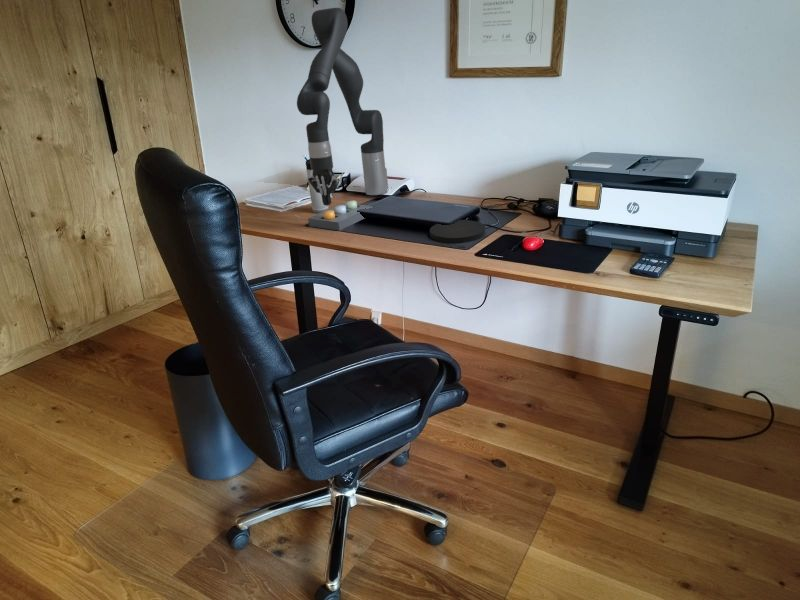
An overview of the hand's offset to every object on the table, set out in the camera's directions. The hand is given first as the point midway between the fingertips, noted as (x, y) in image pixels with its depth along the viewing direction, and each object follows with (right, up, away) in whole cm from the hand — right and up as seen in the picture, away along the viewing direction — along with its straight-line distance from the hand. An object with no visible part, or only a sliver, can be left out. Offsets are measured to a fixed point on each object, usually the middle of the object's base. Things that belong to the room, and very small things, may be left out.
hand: (327, 204), depth 195 cm
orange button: (+1, -5, +3) cm, 6 cm away
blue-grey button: (+4, -3, +7) cm, 9 cm away
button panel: (+4, -4, +8) cm, 10 cm away
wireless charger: (+44, -12, -15) cm, 48 cm away
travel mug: (-5, +1, +22) cm, 22 cm away
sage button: (+8, 0, +12) cm, 14 cm away
